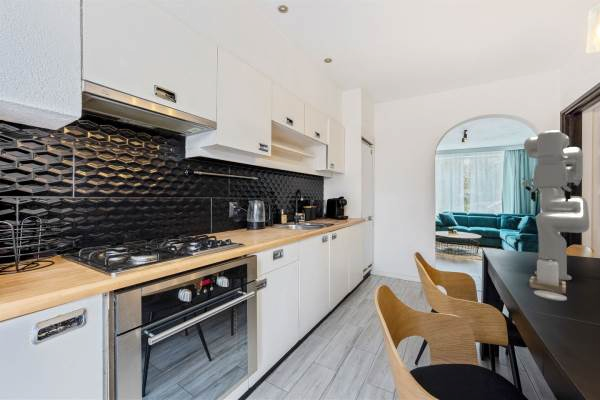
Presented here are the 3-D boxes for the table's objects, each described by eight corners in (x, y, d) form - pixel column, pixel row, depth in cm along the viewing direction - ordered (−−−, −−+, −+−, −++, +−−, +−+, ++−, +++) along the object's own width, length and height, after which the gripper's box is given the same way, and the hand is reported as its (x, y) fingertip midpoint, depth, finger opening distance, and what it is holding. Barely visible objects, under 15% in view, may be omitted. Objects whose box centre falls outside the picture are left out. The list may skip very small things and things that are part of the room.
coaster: (534, 290, 103) (534, 288, 103) (566, 296, 96) (566, 294, 96) (533, 296, 96) (533, 294, 96) (567, 302, 90) (567, 301, 90)
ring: (531, 281, 113) (531, 276, 113) (565, 287, 106) (565, 281, 106) (529, 287, 106) (529, 281, 106) (565, 293, 98) (565, 287, 98)
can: (563, 290, 102) (562, 261, 102) (544, 289, 103) (544, 260, 104) (550, 285, 108) (550, 257, 109) (533, 284, 110) (533, 257, 110)
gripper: (580, 159, 101) (580, 201, 101) (523, 164, 114) (523, 201, 114) (580, 157, 96) (581, 201, 96) (521, 162, 109) (521, 201, 109)
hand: (550, 201), depth 105 cm, fingers open, 9 cm apart
